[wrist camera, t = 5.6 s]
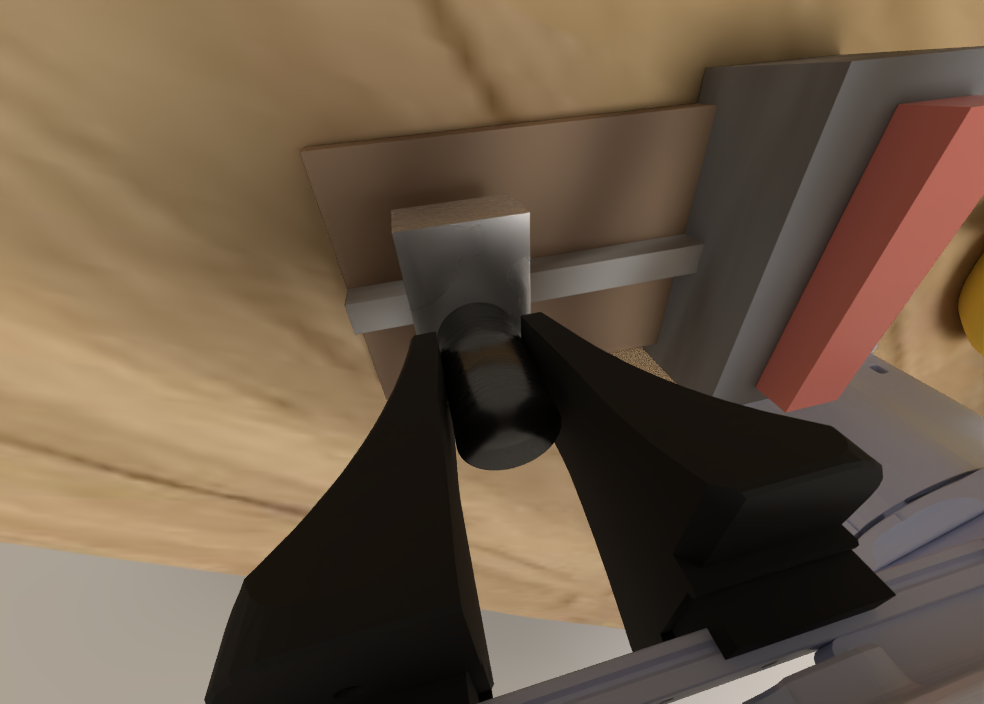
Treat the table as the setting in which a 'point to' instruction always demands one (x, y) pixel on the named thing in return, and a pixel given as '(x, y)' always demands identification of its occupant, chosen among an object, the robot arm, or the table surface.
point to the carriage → (479, 323)
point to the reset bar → (881, 248)
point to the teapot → (973, 306)
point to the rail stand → (647, 207)
